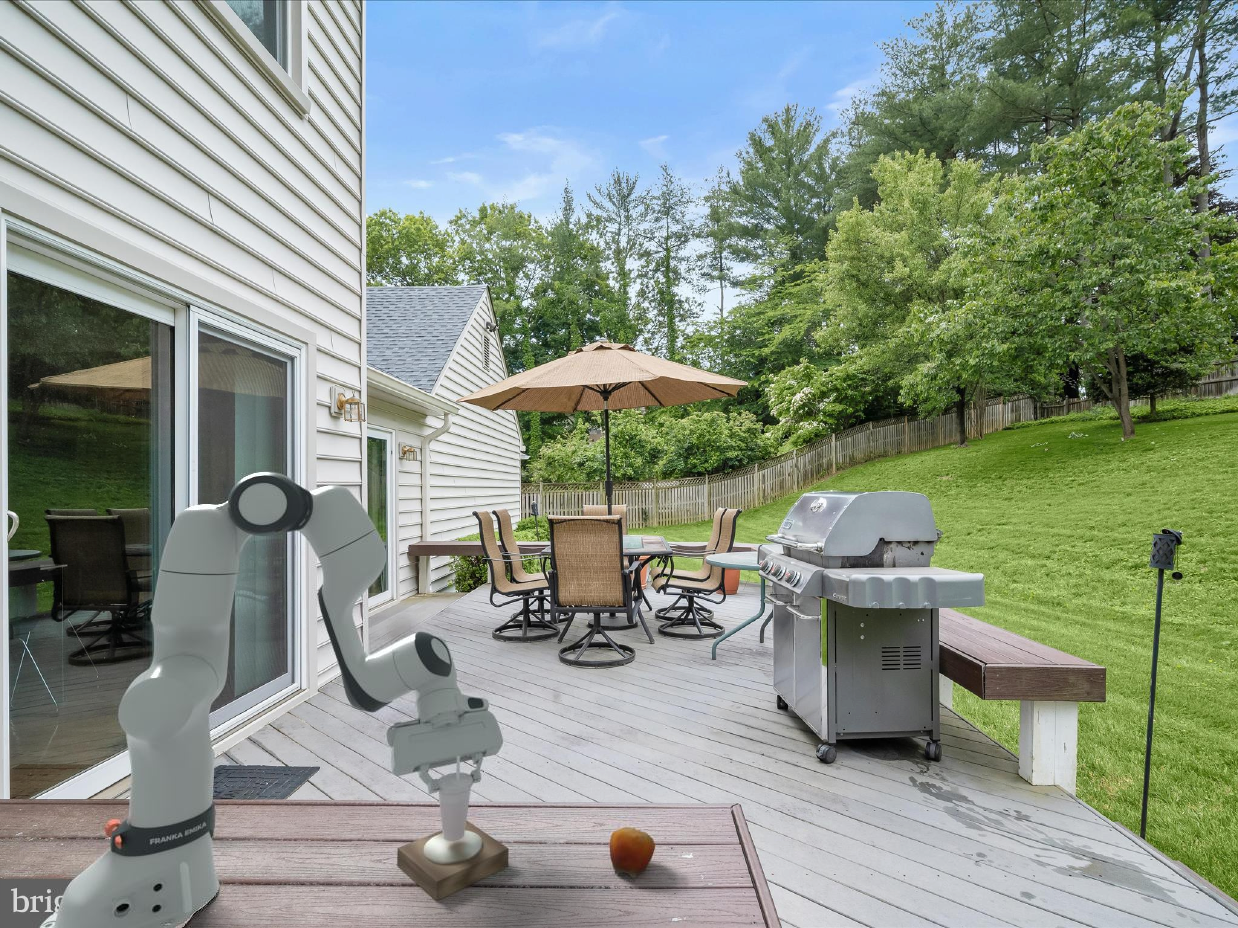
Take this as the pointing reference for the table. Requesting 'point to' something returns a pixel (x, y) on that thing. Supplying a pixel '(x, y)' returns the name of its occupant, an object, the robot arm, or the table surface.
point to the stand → (451, 860)
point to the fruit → (631, 850)
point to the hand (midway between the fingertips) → (455, 786)
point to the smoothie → (454, 802)
